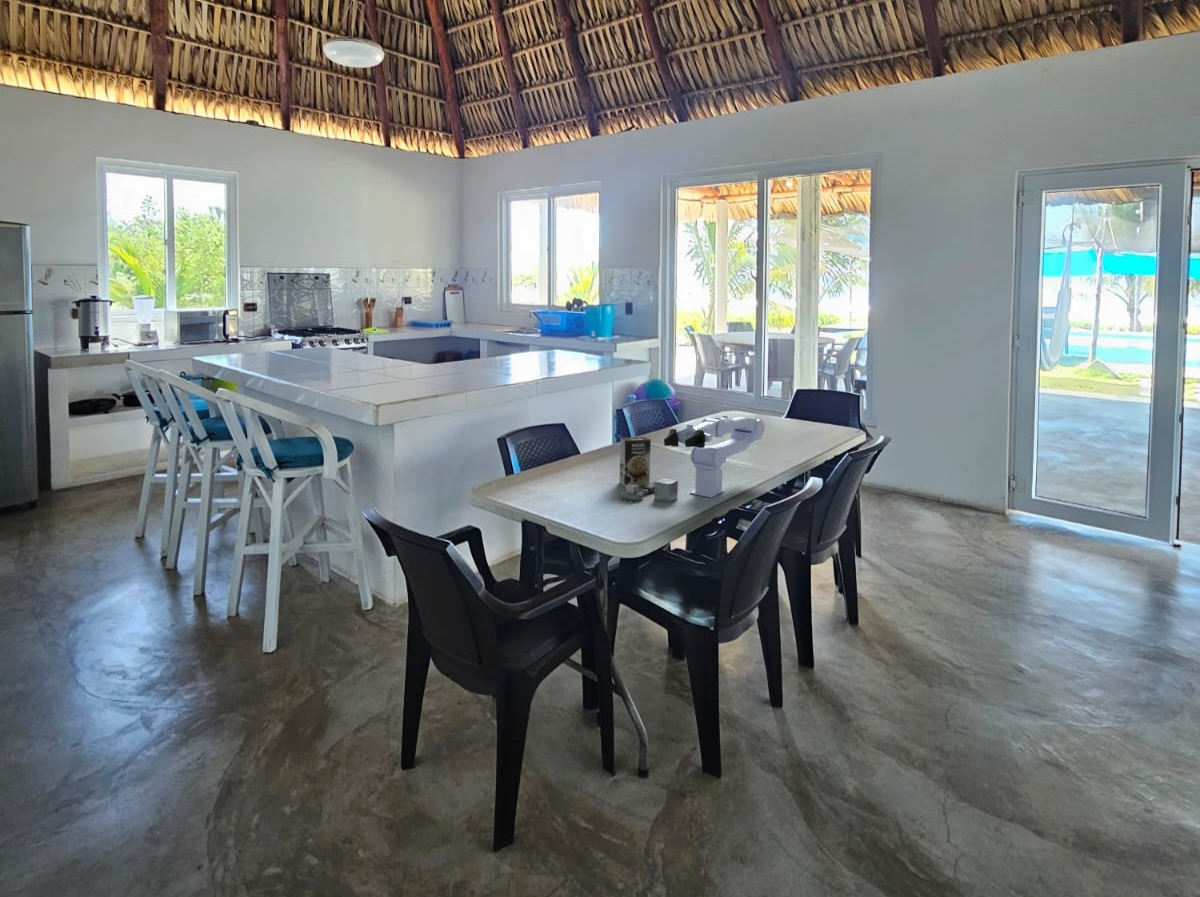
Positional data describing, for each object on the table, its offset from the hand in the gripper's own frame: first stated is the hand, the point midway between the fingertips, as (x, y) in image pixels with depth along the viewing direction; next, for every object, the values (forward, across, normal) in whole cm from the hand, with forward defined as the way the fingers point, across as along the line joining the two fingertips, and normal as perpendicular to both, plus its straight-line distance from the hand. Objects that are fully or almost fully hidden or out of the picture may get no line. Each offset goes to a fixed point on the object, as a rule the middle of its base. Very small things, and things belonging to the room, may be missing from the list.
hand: (675, 443), depth 238 cm
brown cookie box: (-12, -27, +19) cm, 35 cm away
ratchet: (-4, -17, +19) cm, 26 cm away
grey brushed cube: (-4, -8, +20) cm, 22 cm away
